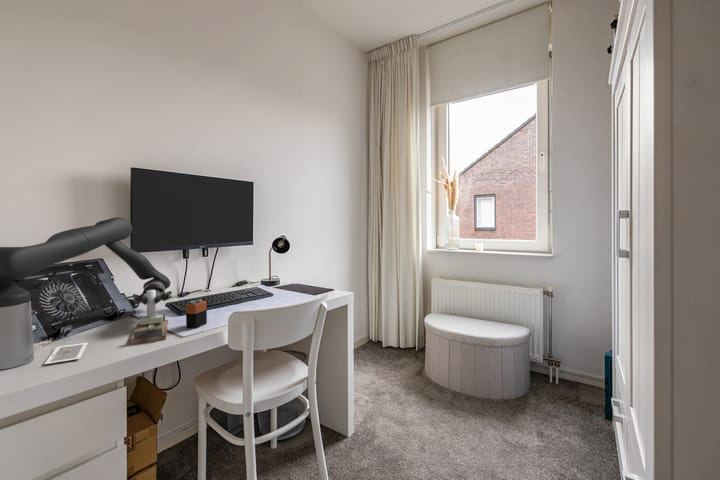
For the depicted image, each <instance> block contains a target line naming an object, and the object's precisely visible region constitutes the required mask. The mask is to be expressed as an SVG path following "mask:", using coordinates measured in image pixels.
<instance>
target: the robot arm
mask: <svg viewBox="0 0 720 480" xmlns="http://www.w3.org/2000/svg"><path fill="white" fill-rule="evenodd" d="M132 232H133V226H132V224H131V222H130V221H129V220H128V219H127V218H124V217H120V216H119V217H111V218H107V219H104V220H99V221H98V222H96V223H95V224H93V225H87V226H81V227H76V228H70V229H66V230H64V231H59V232H57V233H55V234H52V235H50V237H48V238H47V240H46V241H44V242H42V243H37V244H33V245H28V246H27V245H26V246H0V370H8V369H12V368H13V369H14V368H17V367H20V366H23V365H26V364H28V363H31V362H32V361H33V360H34V359H35V357H34V356H35V355H34V353H35V351H34V339H33V338H34V333H33V318H32V301H31V300H32V299H31V293H30V291H28V290H27V289H24V288H22V287H20V286H19V285H17V284H16V282H15V280H16V281H17V280H23V279H26V278H28V277H31V276H33V275H35V274H37V273H39V272H40V271H42V270H43V271H44V269H47V268H48V267H50V266H53V265H56V264H59V263H62V262H65V261H67V260H70V259H74V258H77V257H79V256H81V255H84V254H86V253H89V252H91V251H94V250H95V249H98V248H100V247H102V246H105V247H107V248H108V249H109V250H110V251H111V252H112V253H114V254H115V256H118V257H119V258H120V259H121V260H122V261H123V262H124V263H126V264H127V266H128V267H129V268H130V269H131V270H132V271H133V272H134V273H135V275H136V276H137V277H138V278H139V280H142V281H143V280H144V281H145V280H148V281H146V282H144V284H143V286H142V288H143V290H142V293H141V294H140V295H139V294H137V293H136V294H135V293H134V294H132V302H134V303H136V304H143V305H144V306H145V305H146V306H147V298H146V291H148V290H156V297H155V304H156V305H157V304H159V303H160V302H161V301H162V302H166V301H168V300H171V298H173V292H172V291H171V290H170V291H167V292H166V290H167V289H168V288H170V287H171V280H170V279H169V277H167V276H166V275H165V274H163V273H162V272H160V271H159V270H158V269H156V268H155V267H154V265H153V264H152V263H151V262H150V260H149V259H148V258H147V257H146V256H145V255H143V254H142V253H140V252H138V251H136V250H134V249H132V248H131V247H130V246H127V245H126V244H125V243H123V240H126V239H127V238H129V237H130V236H131V235H132ZM149 279H150V280H149Z"/></svg>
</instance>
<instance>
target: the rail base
mask: <svg viewBox="0 0 720 480" xmlns="http://www.w3.org/2000/svg"><path fill="white" fill-rule="evenodd" d="M158 315H163V322H162V323H153V324H145V325H140V322H137V324H136V327H135V329H134V331H133V333H132V335H131V338H130V345H137V344H145V343H150V342H151V343H152V342H159V341H166V340H167V339H166V338H167V331H168V327H167V326H168V325H169V320H168V319H166V314H165V313H162V314H158ZM145 316H146V315H144V316H143V315H142V316H140V317H139V320H140V319H141V317H145Z"/></svg>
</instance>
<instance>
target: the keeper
mask: <svg viewBox="0 0 720 480" xmlns="http://www.w3.org/2000/svg"><path fill="white" fill-rule="evenodd" d="M155 297H156V290H148V291H146V298H147V304H146V315H144V316H145V317H141V316H140V317H141V319H140V318H139V323H140V325H145V324H153V323H162V322H163V315H159V314H157V304H155Z"/></svg>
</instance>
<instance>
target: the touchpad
mask: <svg viewBox="0 0 720 480" xmlns="http://www.w3.org/2000/svg"><path fill="white" fill-rule="evenodd" d="M88 344H89V342H81V343H75V344H69V345H61V346H56V347H55V349H54V350H53V352H52V353H50V355H49V357H48V358H47V360H46V361H45V363H44V365H47V364H54V363H55V364H56V363H60V362H67V361H72V360H79V359H80V360H81V358H82V355H83V354H84V352H85V350H86V348H87V347H88Z"/></svg>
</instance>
